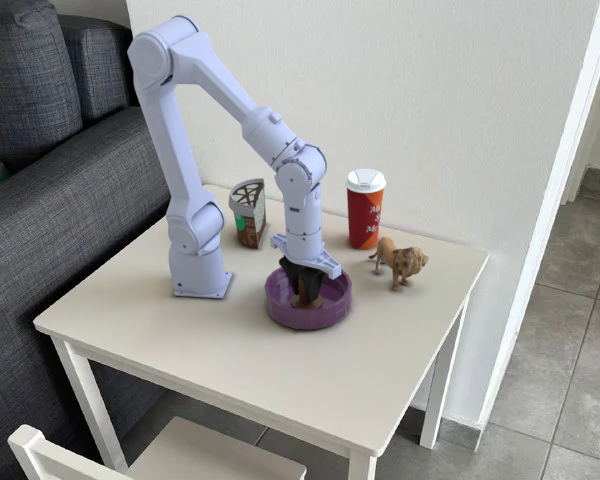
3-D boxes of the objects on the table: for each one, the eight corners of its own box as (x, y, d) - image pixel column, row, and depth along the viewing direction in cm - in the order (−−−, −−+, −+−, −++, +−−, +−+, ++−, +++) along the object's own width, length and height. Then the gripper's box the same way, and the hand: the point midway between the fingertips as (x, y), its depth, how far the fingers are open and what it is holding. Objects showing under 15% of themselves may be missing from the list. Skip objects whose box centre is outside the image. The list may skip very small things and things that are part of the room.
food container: (239, 220, 135) (234, 176, 127) (267, 221, 134) (264, 177, 127) (227, 251, 126) (220, 206, 119) (257, 253, 125) (252, 207, 118)
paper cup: (380, 253, 123) (384, 187, 113) (342, 251, 125) (342, 185, 115) (383, 232, 129) (387, 167, 119) (346, 230, 130) (347, 165, 120)
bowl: (259, 328, 109) (257, 308, 105) (275, 278, 119) (273, 258, 116) (346, 335, 107) (346, 314, 103) (354, 283, 117) (355, 262, 114)
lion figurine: (428, 291, 114) (434, 248, 108) (406, 301, 112) (410, 258, 106) (378, 255, 123) (381, 213, 117) (357, 264, 121) (358, 222, 115)
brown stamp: (289, 319, 109) (286, 285, 104) (293, 299, 113) (291, 266, 108) (320, 321, 108) (319, 287, 103) (324, 301, 112) (323, 267, 107)
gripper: (354, 232, 97) (352, 302, 107) (289, 201, 104) (293, 270, 114) (323, 250, 93) (324, 321, 103) (258, 218, 101) (264, 287, 111)
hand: (306, 296), depth 108 cm, fingers closed on brown stamp, 2 cm apart
